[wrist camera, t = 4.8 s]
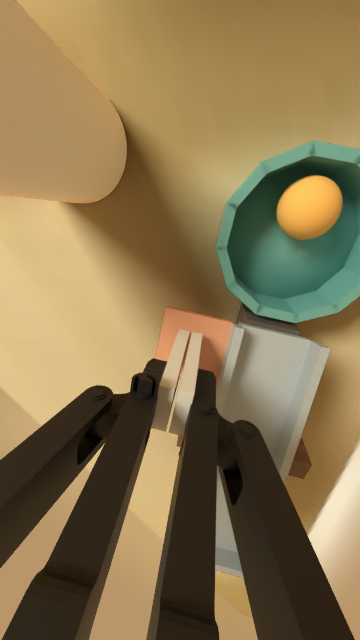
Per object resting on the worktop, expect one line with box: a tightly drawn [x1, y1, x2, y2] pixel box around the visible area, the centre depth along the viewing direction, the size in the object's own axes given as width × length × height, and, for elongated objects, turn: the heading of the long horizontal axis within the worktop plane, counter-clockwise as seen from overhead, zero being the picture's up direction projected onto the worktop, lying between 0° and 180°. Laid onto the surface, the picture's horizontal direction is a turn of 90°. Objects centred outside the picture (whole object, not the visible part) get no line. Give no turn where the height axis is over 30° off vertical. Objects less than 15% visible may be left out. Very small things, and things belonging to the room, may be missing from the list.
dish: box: [216, 141, 360, 323], centre depth 19 cm, size 11×11×4 cm
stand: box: [177, 302, 312, 479], centre depth 23 cm, size 19×11×8 cm, turn 169°
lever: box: [155, 306, 330, 579], centre depth 20 cm, size 20×11×4 cm, turn 169°
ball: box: [277, 175, 343, 240], centre depth 17 cm, size 4×4×4 cm
